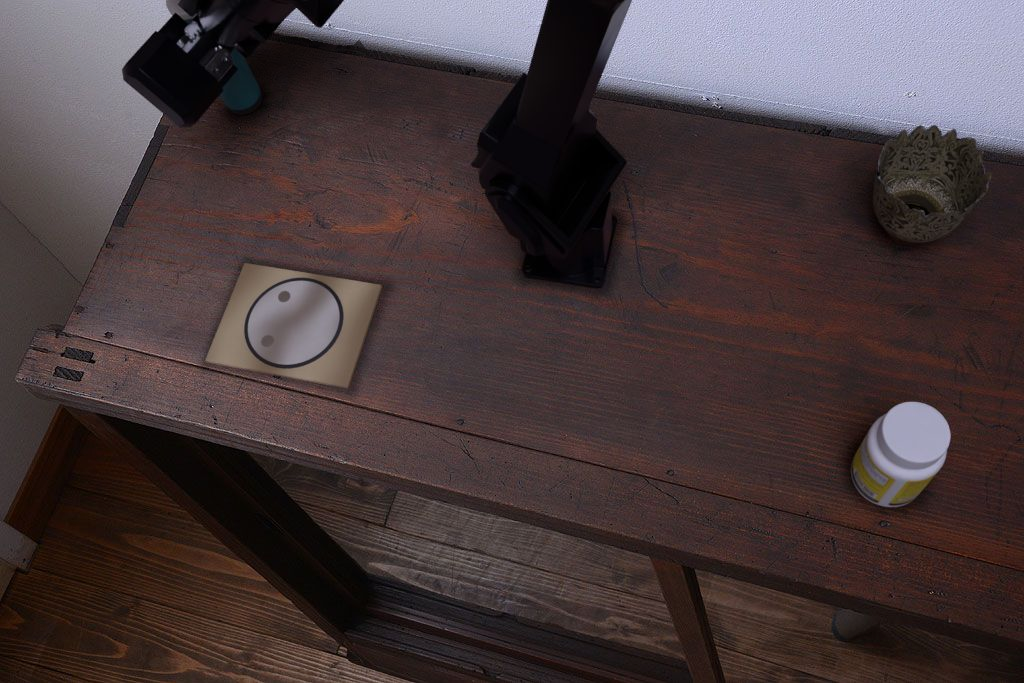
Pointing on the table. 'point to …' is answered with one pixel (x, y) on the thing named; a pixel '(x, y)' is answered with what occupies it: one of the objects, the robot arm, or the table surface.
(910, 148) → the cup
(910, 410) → the supplement bottle
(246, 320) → the sketch board
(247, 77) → the paint dauber
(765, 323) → the table surface
